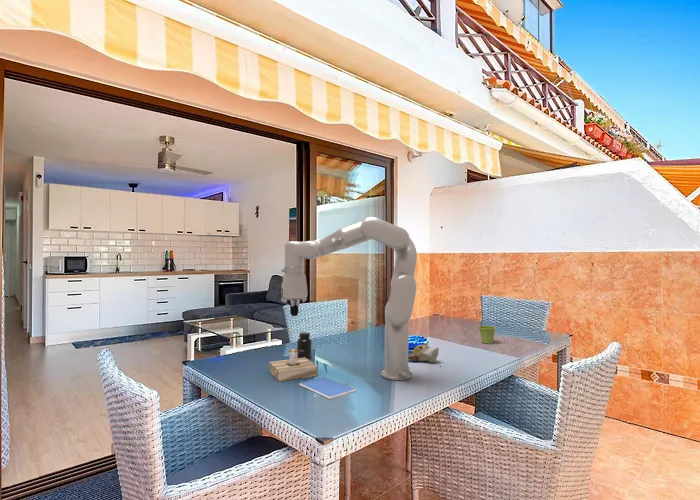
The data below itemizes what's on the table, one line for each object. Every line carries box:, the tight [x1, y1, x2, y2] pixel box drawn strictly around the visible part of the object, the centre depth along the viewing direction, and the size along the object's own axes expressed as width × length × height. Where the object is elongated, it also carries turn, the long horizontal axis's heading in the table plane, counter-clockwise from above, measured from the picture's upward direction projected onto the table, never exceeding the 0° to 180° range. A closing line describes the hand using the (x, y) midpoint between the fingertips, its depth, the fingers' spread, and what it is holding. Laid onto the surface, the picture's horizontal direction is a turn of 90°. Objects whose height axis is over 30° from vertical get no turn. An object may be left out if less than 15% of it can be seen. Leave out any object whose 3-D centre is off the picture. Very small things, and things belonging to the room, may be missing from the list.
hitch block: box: [269, 358, 319, 383], centre depth 159 cm, size 14×16×4 cm
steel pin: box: [288, 348, 297, 366], centre depth 159 cm, size 3×3×10 cm
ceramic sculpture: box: [408, 342, 440, 364], centre depth 179 cm, size 11×9×15 cm
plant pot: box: [478, 325, 497, 345], centre depth 216 cm, size 9×9×9 cm
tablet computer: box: [299, 376, 356, 400], centre depth 143 cm, size 19×13×1 cm, turn 41°
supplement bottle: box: [296, 331, 313, 360], centre depth 182 cm, size 7×7×12 cm
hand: (294, 315), depth 159 cm, fingers closed
